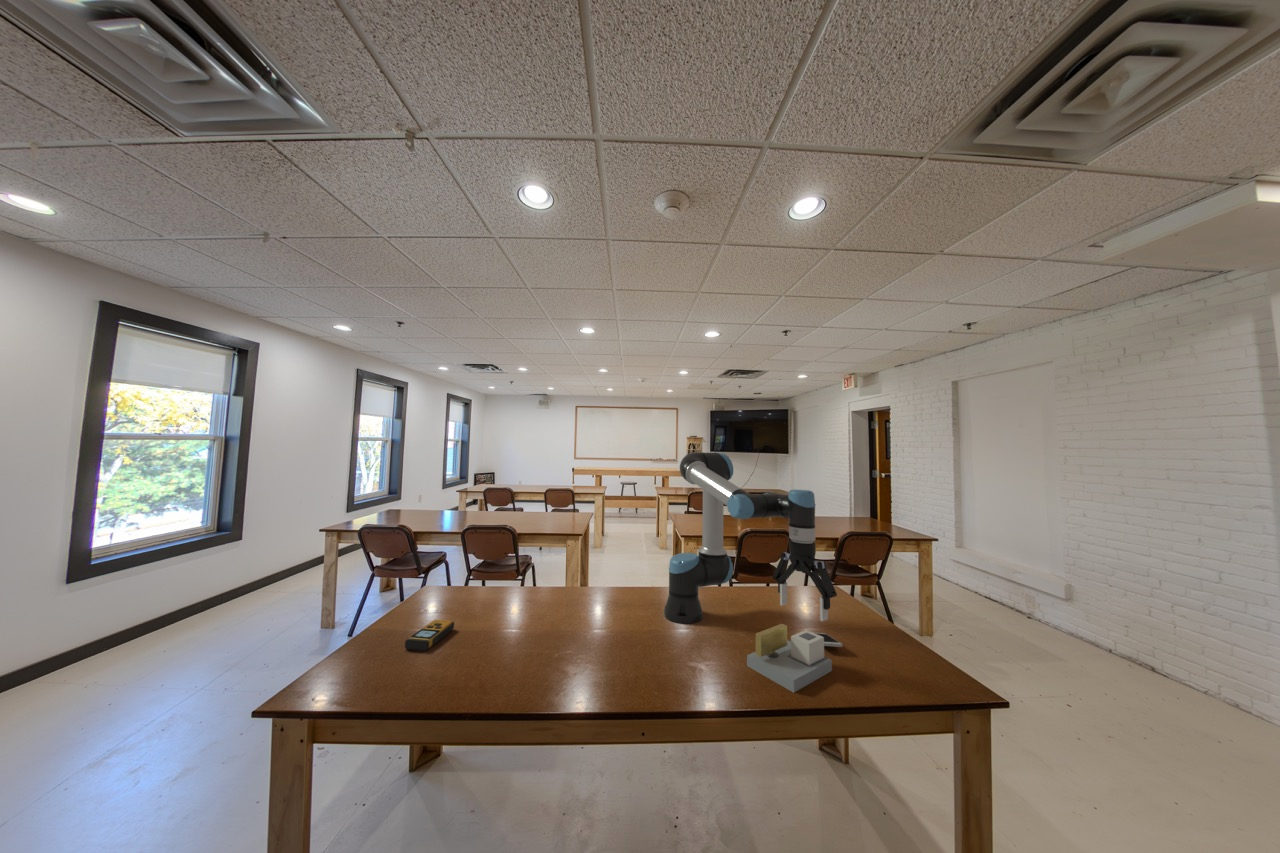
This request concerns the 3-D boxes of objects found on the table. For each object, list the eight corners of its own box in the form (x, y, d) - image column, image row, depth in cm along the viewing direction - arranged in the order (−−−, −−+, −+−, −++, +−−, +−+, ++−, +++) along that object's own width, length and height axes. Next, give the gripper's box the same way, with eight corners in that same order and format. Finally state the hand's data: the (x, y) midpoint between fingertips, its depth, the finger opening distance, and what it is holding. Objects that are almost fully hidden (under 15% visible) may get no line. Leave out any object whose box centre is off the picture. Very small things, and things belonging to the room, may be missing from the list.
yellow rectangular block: (761, 661, 117) (761, 636, 118) (755, 658, 119) (755, 633, 119) (787, 649, 125) (787, 625, 125) (781, 646, 126) (781, 623, 127)
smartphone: (820, 645, 129) (820, 642, 130) (805, 634, 144) (805, 631, 144) (843, 647, 129) (842, 644, 129) (825, 635, 144) (825, 632, 144)
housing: (747, 667, 121) (747, 654, 121) (785, 649, 132) (785, 638, 133) (793, 693, 108) (793, 679, 108) (832, 672, 119) (831, 659, 120)
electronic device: (455, 629, 141) (456, 619, 141) (428, 651, 126) (428, 640, 126) (433, 627, 142) (433, 617, 142) (403, 649, 126) (404, 638, 127)
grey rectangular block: (791, 656, 121) (791, 635, 121) (806, 649, 126) (805, 629, 126) (809, 665, 116) (809, 643, 116) (824, 657, 121) (823, 636, 121)
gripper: (761, 534, 130) (761, 601, 128) (834, 550, 109) (835, 630, 108) (775, 532, 134) (776, 597, 132) (848, 547, 113) (850, 624, 112)
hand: (802, 612), depth 120 cm, fingers open, 13 cm apart
